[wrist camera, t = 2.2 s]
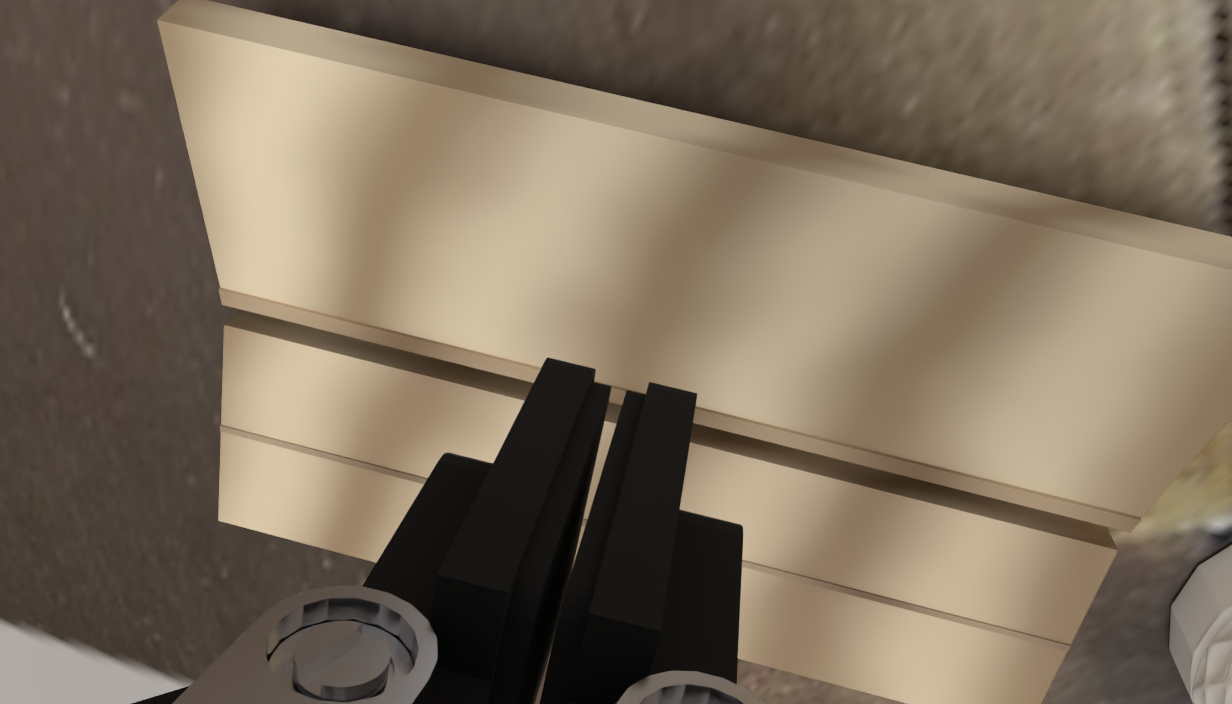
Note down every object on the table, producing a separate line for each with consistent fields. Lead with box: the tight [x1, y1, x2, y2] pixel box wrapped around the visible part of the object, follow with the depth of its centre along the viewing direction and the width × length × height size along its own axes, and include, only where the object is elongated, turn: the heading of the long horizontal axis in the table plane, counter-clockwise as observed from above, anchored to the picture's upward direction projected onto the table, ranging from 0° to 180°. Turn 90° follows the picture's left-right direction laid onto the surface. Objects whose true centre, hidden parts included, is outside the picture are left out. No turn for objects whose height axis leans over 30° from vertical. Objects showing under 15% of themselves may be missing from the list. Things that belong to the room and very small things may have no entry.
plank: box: [157, 0, 1232, 532], centre depth 25 cm, size 26×9×1 cm, turn 79°
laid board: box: [218, 310, 1118, 704], centre depth 31 cm, size 26×7×1 cm, turn 79°
